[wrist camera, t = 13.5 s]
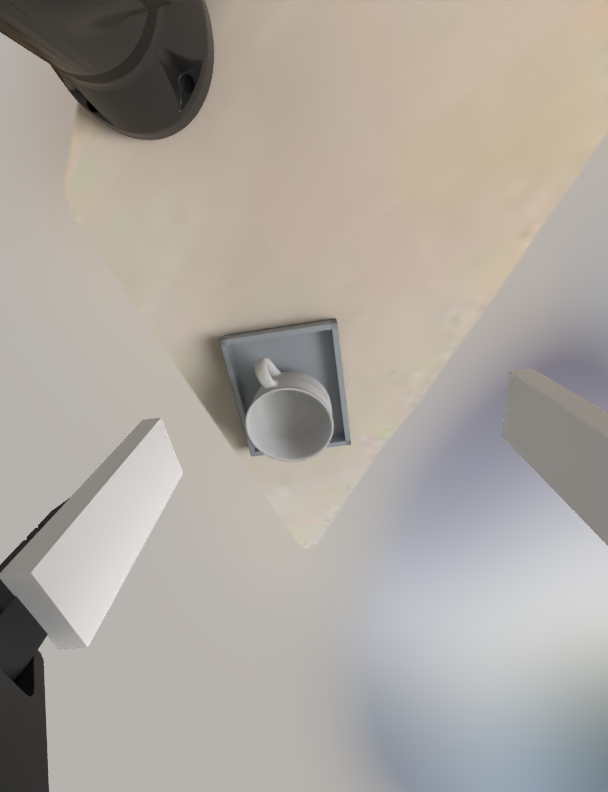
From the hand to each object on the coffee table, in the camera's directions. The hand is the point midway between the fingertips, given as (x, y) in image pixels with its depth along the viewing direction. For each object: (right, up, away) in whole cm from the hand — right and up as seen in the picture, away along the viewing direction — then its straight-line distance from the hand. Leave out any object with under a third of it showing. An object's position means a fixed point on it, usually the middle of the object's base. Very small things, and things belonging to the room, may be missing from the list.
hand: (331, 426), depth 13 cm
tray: (-3, +2, +34) cm, 34 cm away
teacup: (-3, +2, +34) cm, 34 cm away
